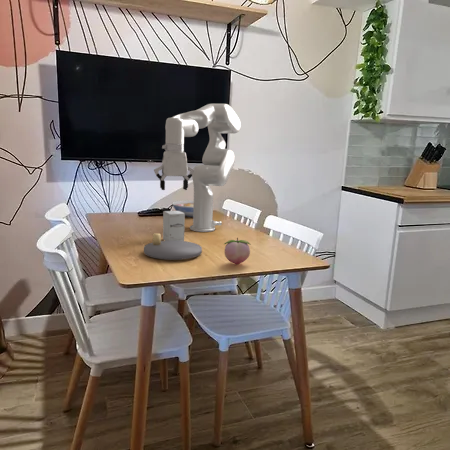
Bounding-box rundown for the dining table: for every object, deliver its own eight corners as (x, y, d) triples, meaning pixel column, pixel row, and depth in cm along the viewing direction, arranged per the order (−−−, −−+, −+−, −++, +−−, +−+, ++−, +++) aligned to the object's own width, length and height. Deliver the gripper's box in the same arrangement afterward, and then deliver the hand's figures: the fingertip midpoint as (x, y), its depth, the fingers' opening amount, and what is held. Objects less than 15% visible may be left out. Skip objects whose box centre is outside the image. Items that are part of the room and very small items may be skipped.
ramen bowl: (168, 212, 241) (168, 198, 239) (206, 212, 247) (206, 198, 246) (174, 220, 218) (175, 205, 216) (215, 220, 224) (216, 205, 222)
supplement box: (168, 243, 170) (168, 213, 167) (162, 239, 176) (162, 210, 174) (184, 241, 173) (185, 213, 171) (178, 238, 180) (178, 210, 177)
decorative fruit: (246, 260, 149) (247, 234, 147) (251, 267, 141) (252, 240, 139) (221, 261, 148) (222, 234, 146) (225, 268, 140) (226, 240, 138)
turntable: (168, 241, 169) (168, 228, 168) (212, 250, 158) (212, 236, 157) (131, 252, 150) (131, 238, 149) (178, 263, 139) (178, 248, 138)
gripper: (156, 148, 160) (156, 191, 163) (197, 149, 167) (196, 190, 170) (152, 147, 167) (151, 188, 170) (191, 148, 173) (190, 188, 177)
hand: (174, 189), depth 170 cm, fingers open, 9 cm apart
